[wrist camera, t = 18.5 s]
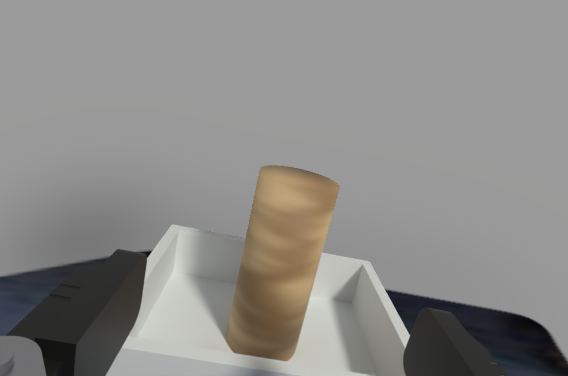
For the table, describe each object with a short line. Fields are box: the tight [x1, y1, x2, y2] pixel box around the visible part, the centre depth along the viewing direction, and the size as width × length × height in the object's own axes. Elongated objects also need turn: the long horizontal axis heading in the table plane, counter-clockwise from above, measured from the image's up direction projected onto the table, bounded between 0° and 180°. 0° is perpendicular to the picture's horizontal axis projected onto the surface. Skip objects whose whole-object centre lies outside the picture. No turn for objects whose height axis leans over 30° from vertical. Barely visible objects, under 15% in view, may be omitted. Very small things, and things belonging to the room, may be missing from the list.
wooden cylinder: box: [226, 166, 339, 362], centre depth 24 cm, size 5×5×12 cm
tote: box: [106, 224, 410, 376], centre depth 25 cm, size 18×15×5 cm
